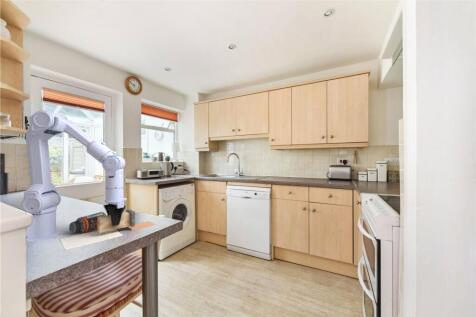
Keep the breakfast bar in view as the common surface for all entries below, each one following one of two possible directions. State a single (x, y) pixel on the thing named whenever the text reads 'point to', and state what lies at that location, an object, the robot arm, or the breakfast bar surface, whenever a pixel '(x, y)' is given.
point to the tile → (141, 225)
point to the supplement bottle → (85, 223)
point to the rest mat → (88, 238)
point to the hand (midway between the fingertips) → (114, 224)
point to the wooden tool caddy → (125, 221)
